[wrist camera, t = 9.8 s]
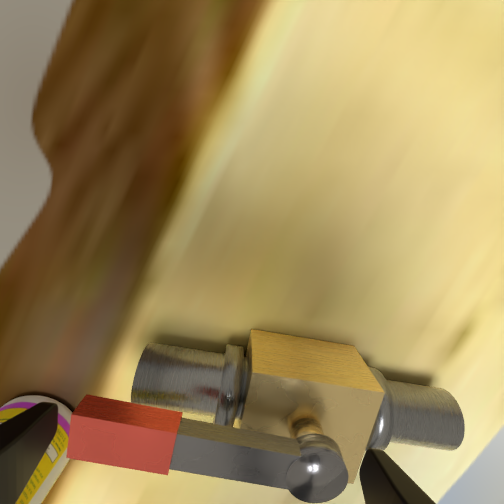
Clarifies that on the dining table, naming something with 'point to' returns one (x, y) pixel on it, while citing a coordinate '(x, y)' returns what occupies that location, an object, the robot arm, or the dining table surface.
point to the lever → (204, 448)
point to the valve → (299, 394)
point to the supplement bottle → (53, 456)
